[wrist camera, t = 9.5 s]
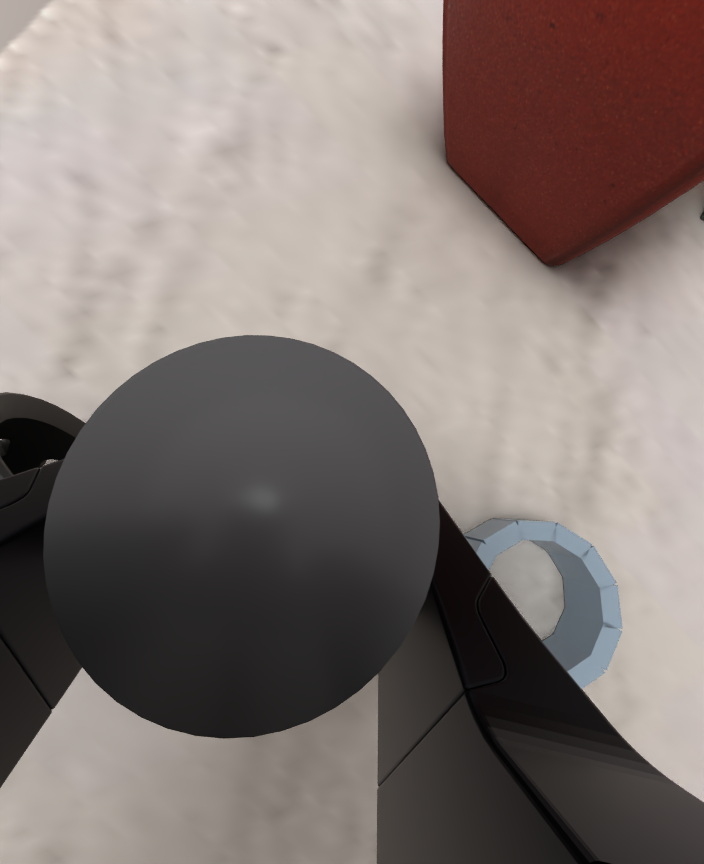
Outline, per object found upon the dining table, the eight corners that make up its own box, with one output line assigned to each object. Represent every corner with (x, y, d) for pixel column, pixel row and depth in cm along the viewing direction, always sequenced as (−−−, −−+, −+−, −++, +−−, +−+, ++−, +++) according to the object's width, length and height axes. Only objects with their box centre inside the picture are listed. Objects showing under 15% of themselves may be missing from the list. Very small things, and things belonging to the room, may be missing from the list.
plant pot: (550, 329, 25) (983, -19, 8) (382, 152, 27) (459, -388, 11) (709, 201, 28) (1246, -230, 12) (547, 54, 30) (799, -474, 14)
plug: (382, 502, 15) (512, 491, 4) (314, 585, 14) (254, 848, 3) (306, 436, 15) (244, 272, 5) (235, 514, 14) (-47, 536, 4)
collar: (606, 620, 21) (651, 639, 18) (492, 697, 20) (520, 731, 17) (531, 495, 22) (561, 493, 19) (419, 560, 21) (433, 569, 18)
